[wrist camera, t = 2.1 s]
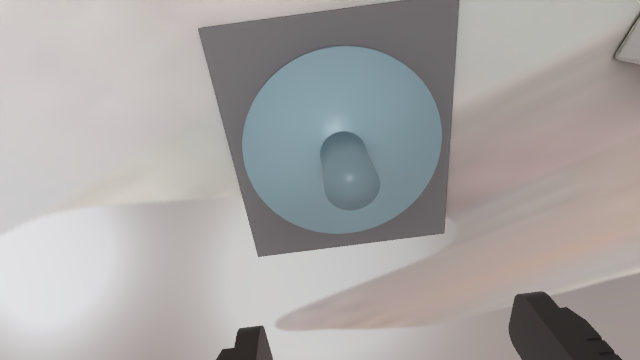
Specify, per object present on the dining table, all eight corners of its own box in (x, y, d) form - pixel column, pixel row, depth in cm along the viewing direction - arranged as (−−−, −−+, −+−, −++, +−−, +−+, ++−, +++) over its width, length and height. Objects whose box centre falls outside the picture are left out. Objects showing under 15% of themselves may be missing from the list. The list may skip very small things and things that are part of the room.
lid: (441, 31, 21) (487, 39, 16) (433, 215, 28) (464, 264, 22) (222, 60, 21) (196, 78, 16) (265, 236, 28) (256, 290, 23)
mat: (455, -7, 21) (459, -7, 20) (441, 229, 29) (444, 233, 29) (200, 28, 21) (197, 28, 20) (259, 252, 29) (258, 256, 29)
